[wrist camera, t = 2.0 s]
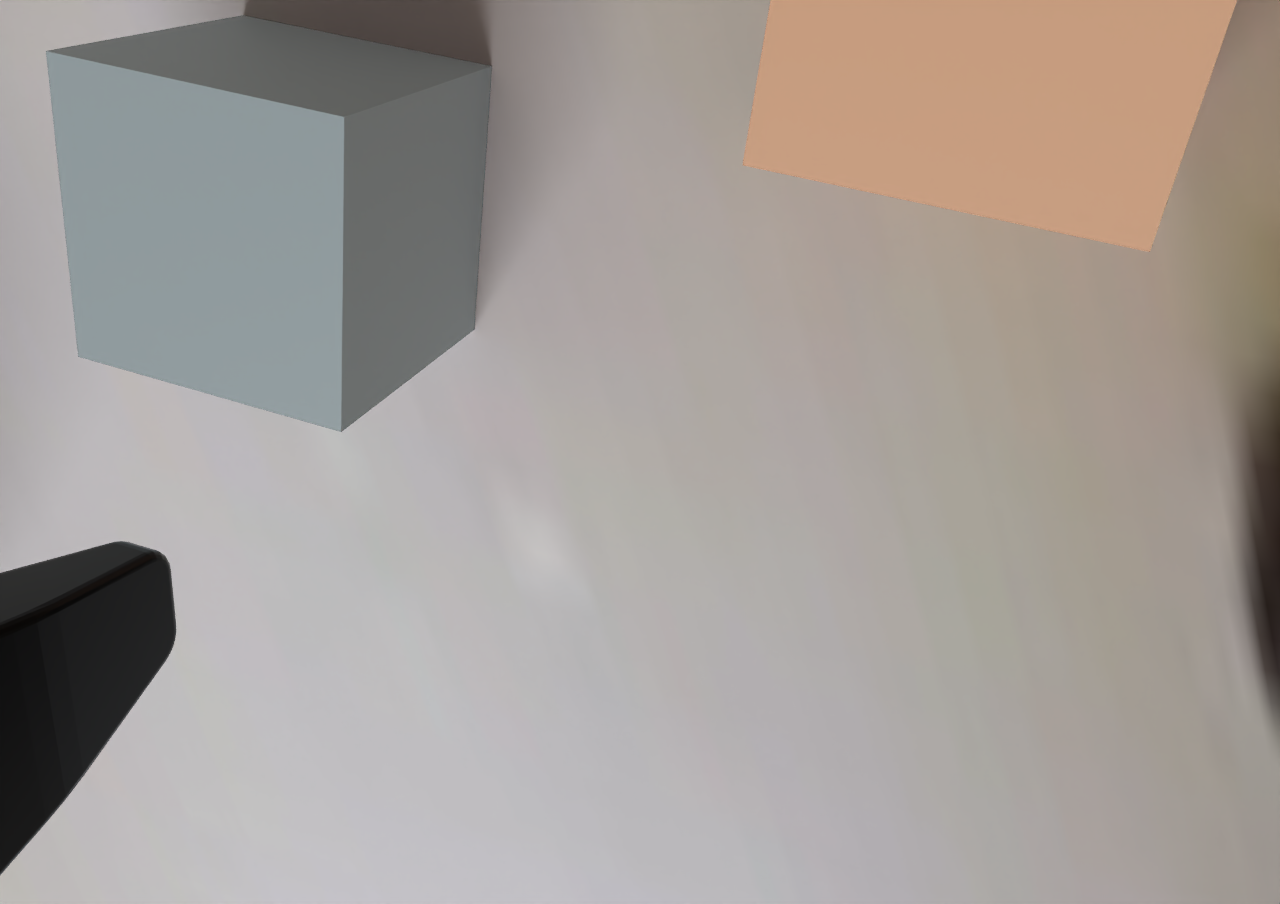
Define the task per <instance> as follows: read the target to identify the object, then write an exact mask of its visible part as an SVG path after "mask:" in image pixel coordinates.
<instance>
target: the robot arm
mask: <svg viewBox="0 0 1280 904" xmlns="http://www.w3.org/2000/svg"><path fill="white" fill-rule="evenodd" d="M175 636H176V619H175V609H174V598H173V588H172V578H171V569H170V564H169V562H168V560H167V558H166V557H165V555H163V554H162V553H160V552H159V551H156V550H153V549H150V548H146V547H143V546H139V545H136V544H133V543H129V542H123V541H120V542H113V543H109V544H105V545H102V546H98V547H94V548H91V549H87V550H83V551H80V552H76V553H72V554H69V555H65V556H61V557H57V558H54V559H50V560H46V561H43V562H39V563H35V564H32V565H28V566H24V567H21V568H17V569H13V570H10V571H6V572H2V573H0V875H1V874H2V873H3V871H4V870H5V869H6V868H7V867H8V866H9V865H10V863H11V862H12V861H13V860H14V859H15V858H16V857H17V855H18V854H19V853H20V852H21V851H22V850H23V849H24V847H25V846H26V845H27V844H28V843H29V842H30V840H31V839H32V838H33V837H34V836H35V835H36V834H37V832H38V831H39V830H40V829H41V828H42V827H43V826H44V824H45V823H46V822H47V821H48V820H49V819H50V817H51V816H52V815H53V814H54V813H55V811H56V810H57V809H58V808H59V807H60V805H61V804H62V803H63V802H64V801H65V799H66V798H67V797H68V795H69V794H70V793H71V792H72V790H73V789H74V788H75V786H76V785H77V784H78V782H79V781H80V780H81V778H82V777H83V776H84V774H85V773H86V772H87V770H88V769H89V767H90V766H91V765H92V763H93V762H94V760H95V759H96V758H97V756H98V755H99V753H100V752H101V751H102V749H103V748H104V746H105V745H106V744H107V742H108V741H109V739H110V738H111V737H112V735H113V734H114V732H115V731H116V730H117V728H118V727H119V725H120V724H121V723H122V721H123V720H124V718H125V717H126V716H127V714H128V713H129V711H130V710H131V709H132V707H133V706H134V704H135V703H136V702H137V700H138V699H139V697H140V696H141V695H142V693H143V692H144V690H145V689H146V688H147V686H148V685H149V683H150V682H151V681H152V679H153V678H154V676H155V675H156V674H157V672H158V671H159V669H160V668H161V667H162V665H163V664H164V662H165V661H166V659H167V658H168V656H169V654H170V652H171V650H172V648H173V645H174V641H175Z"/></svg>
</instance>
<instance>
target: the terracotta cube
mask: <svg viewBox="0 0 1280 904" xmlns="http://www.w3.org/2000/svg"><path fill="white" fill-rule="evenodd" d="M1236 2H1237V0H771V1H770V7H769V13H768V18H767V24H766V30H765V36H764V42H763V48H762V54H761V59H760V65H759V71H758V77H757V83H756V89H755V95H754V100H753V106H752V112H751V118H750V124H749V130H748V136H747V142H746V147H745V153H744V159H743V165H744V166H749V167H753V168H758V169H763V170H767V171H772V172H777V173H781V174H786V175H791V176H796V177H800V178H805V179H810V180H814V181H819V182H824V183H828V184H833V185H838V186H842V187H847V188H852V189H857V190H861V191H866V192H871V193H875V194H880V195H885V196H889V197H894V198H899V199H903V200H908V201H913V202H918V203H922V204H927V205H932V206H936V207H941V208H946V209H950V210H955V211H960V212H964V213H969V214H974V215H979V216H983V217H988V218H993V219H997V220H1002V221H1007V222H1011V223H1016V224H1021V225H1025V226H1030V227H1035V228H1040V229H1044V230H1049V231H1054V232H1058V233H1063V234H1068V235H1072V236H1077V237H1082V238H1087V239H1091V240H1096V241H1101V242H1105V243H1110V244H1115V245H1119V246H1124V247H1129V248H1133V249H1138V250H1143V251H1148V252H1150V250H1151V247H1152V244H1153V241H1154V238H1155V235H1156V233H1157V230H1158V227H1159V224H1160V221H1161V218H1162V215H1163V212H1164V209H1165V207H1166V204H1167V201H1168V198H1169V195H1170V192H1171V189H1172V186H1173V183H1174V181H1175V178H1176V175H1177V172H1178V169H1179V166H1180V163H1181V160H1182V158H1183V155H1184V152H1185V149H1186V146H1187V143H1188V140H1189V137H1190V134H1191V132H1192V129H1193V126H1194V123H1195V120H1196V117H1197V114H1198V111H1199V108H1200V106H1201V103H1202V100H1203V97H1204V94H1205V91H1206V88H1207V85H1208V83H1209V80H1210V77H1211V74H1212V71H1213V68H1214V65H1215V62H1216V59H1217V57H1218V54H1219V51H1220V48H1221V45H1222V42H1223V39H1224V36H1225V33H1226V31H1227V28H1228V25H1229V22H1230V19H1231V16H1232V13H1233V10H1234V8H1235V5H1236Z"/></svg>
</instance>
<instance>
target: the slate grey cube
mask: <svg viewBox="0 0 1280 904" xmlns="http://www.w3.org/2000/svg"><path fill="white" fill-rule="evenodd" d="M46 55H47V65H48V74H49V84H50V93H51V103H52V112H53V122H54V131H55V141H56V150H57V160H58V169H59V179H60V188H61V198H62V207H63V216H64V226H65V235H66V245H67V254H68V264H69V273H70V283H71V292H72V302H73V311H74V321H75V330H76V340H77V349H78V357H81V358H85V359H88V360H92V361H95V362H99V363H102V364H106V365H109V366H113V367H116V368H120V369H123V370H127V371H130V372H134V373H137V374H141V375H144V376H148V377H151V378H155V379H158V380H162V381H165V382H169V383H172V384H176V385H179V386H183V387H186V388H190V389H193V390H197V391H200V392H204V393H207V394H211V395H214V396H217V397H221V398H224V399H228V400H231V401H235V402H238V403H242V404H245V405H249V406H252V407H256V408H259V409H263V410H266V411H270V412H273V413H277V414H280V415H284V416H287V417H291V418H294V419H298V420H301V421H305V422H308V423H312V424H315V425H319V426H322V427H326V428H329V429H333V430H336V431H340V432H342V431H343V430H344V429H346V428H347V427H348V426H350V425H351V424H352V423H353V422H355V421H356V420H357V419H359V418H360V417H361V416H363V415H364V414H365V413H366V412H368V411H369V410H370V409H372V408H373V407H374V406H376V405H377V404H378V403H379V402H381V401H382V400H383V399H385V398H386V397H387V396H389V395H390V394H391V393H392V392H394V391H395V390H396V389H398V388H399V387H400V386H402V385H403V384H404V383H405V382H407V381H408V380H409V379H411V378H412V377H413V376H415V375H416V374H417V373H418V372H420V371H421V370H422V369H424V368H425V367H426V366H428V365H429V364H430V363H431V362H433V361H434V360H435V359H437V358H438V357H439V356H440V355H442V354H443V353H444V352H446V351H447V350H448V349H450V348H451V347H452V346H453V345H455V344H456V343H457V342H459V341H460V340H461V339H463V338H464V337H465V336H466V335H468V334H469V333H470V332H472V331H473V330H474V326H475V311H476V296H477V282H478V267H479V252H480V237H481V222H482V207H483V192H484V177H485V163H486V148H487V133H488V118H489V103H490V88H491V73H492V66H489V65H484V64H479V63H474V62H469V61H464V60H459V59H454V58H449V57H445V56H440V55H435V54H430V53H425V52H420V51H415V50H410V49H405V48H400V47H396V46H391V45H386V44H381V43H376V42H371V41H366V40H361V39H356V38H352V37H347V36H342V35H337V34H332V33H327V32H322V31H317V30H312V29H308V28H303V27H298V26H293V25H288V24H283V23H278V22H273V21H268V20H264V19H259V18H254V17H249V16H244V15H243V16H237V17H232V18H226V19H221V20H215V21H209V22H204V23H198V24H193V25H187V26H182V27H176V28H171V29H165V30H160V31H154V32H149V33H143V34H138V35H132V36H127V37H121V38H116V39H110V40H105V41H99V42H94V43H88V44H82V45H77V46H71V47H66V48H60V49H55V50H49V51H46Z"/></svg>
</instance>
